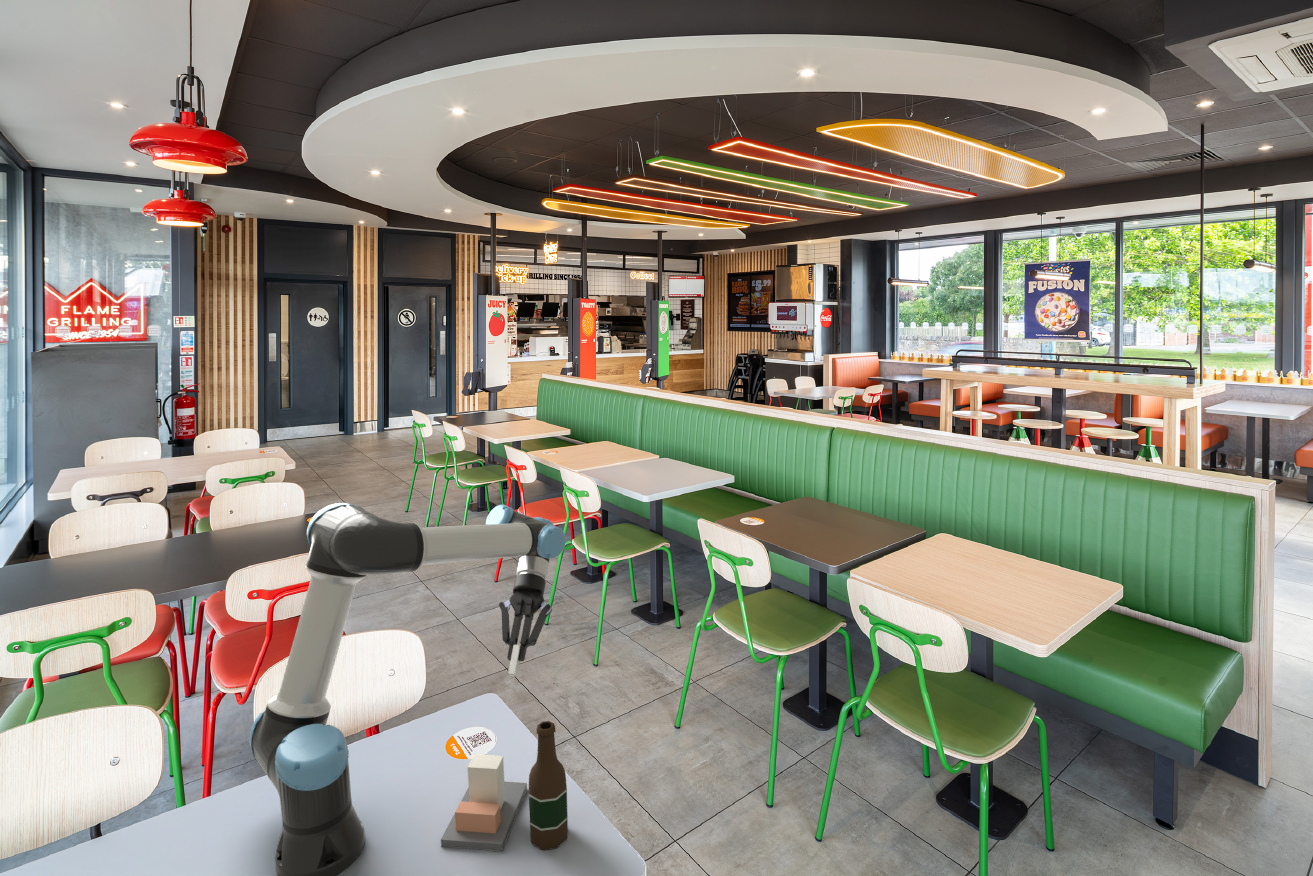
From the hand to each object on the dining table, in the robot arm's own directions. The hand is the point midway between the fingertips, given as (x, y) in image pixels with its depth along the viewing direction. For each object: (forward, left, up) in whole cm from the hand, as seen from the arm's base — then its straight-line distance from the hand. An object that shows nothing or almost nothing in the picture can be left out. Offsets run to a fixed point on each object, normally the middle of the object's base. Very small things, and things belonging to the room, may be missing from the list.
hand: (512, 675), depth 151 cm
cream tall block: (0, -19, -18) cm, 26 cm away
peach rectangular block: (0, -24, -18) cm, 31 cm away
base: (0, -20, -20) cm, 28 cm away
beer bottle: (+14, -24, -20) cm, 34 cm away
